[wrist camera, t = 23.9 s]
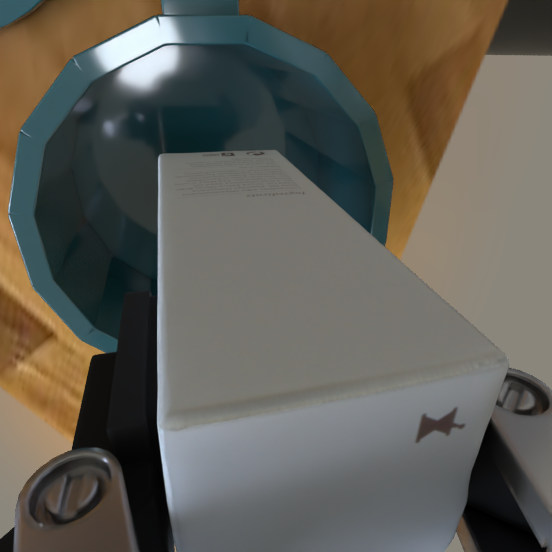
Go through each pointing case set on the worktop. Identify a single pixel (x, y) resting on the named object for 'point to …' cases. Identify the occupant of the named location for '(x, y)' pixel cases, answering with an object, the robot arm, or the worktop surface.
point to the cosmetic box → (305, 371)
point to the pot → (175, 147)
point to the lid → (16, 10)
